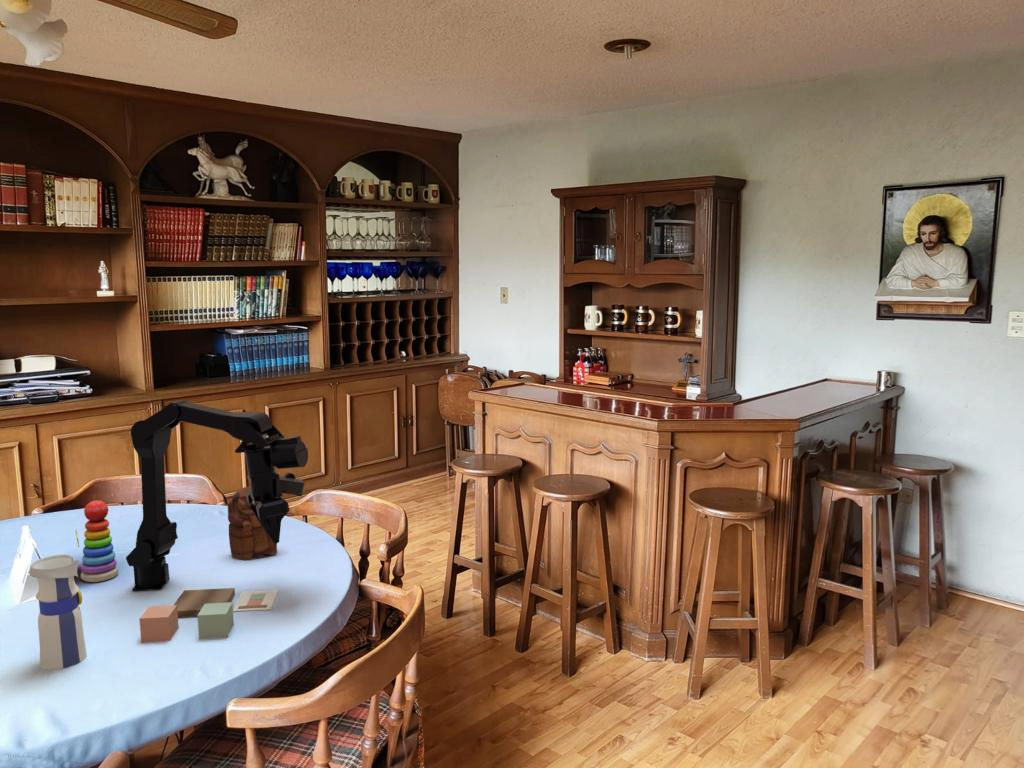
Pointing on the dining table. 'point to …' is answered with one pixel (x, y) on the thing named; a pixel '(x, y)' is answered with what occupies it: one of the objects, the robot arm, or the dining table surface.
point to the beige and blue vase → (59, 612)
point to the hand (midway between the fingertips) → (272, 538)
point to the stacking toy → (97, 545)
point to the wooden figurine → (247, 530)
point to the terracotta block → (159, 623)
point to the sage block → (215, 620)
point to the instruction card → (255, 601)
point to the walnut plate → (201, 600)
